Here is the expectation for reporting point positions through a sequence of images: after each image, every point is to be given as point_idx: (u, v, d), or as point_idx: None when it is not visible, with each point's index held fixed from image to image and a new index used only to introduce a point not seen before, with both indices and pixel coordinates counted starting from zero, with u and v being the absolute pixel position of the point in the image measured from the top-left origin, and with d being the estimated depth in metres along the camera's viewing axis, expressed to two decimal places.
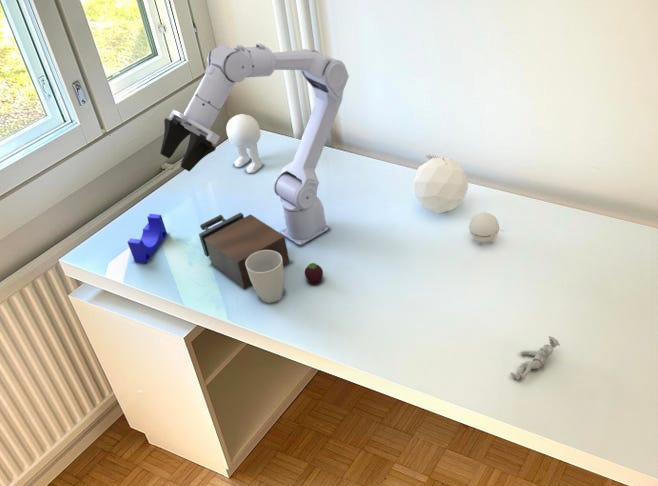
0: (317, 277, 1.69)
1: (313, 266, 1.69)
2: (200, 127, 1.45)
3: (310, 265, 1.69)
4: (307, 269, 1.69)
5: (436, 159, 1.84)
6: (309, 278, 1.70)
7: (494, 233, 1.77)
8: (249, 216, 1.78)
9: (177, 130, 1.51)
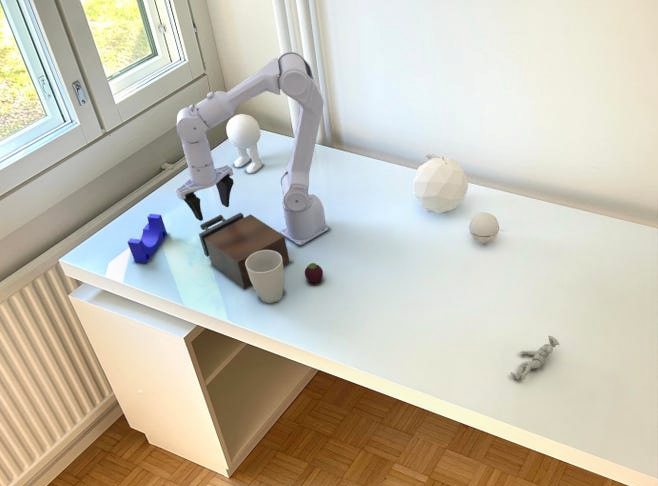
0: (317, 277, 1.69)
1: (313, 266, 1.69)
2: None
3: (310, 265, 1.69)
4: (307, 269, 1.69)
5: (436, 159, 1.84)
6: (309, 278, 1.70)
7: (494, 233, 1.77)
8: (249, 216, 1.78)
9: (219, 184, 1.75)
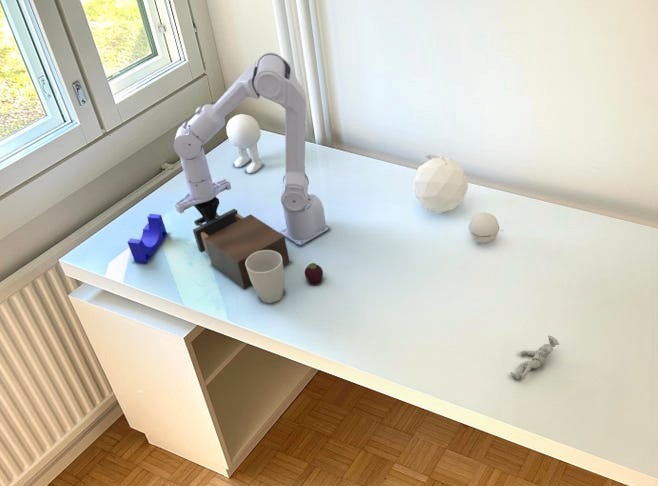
0: (317, 277, 1.69)
1: (313, 266, 1.69)
2: None
3: (310, 265, 1.69)
4: (307, 269, 1.69)
5: (436, 159, 1.84)
6: (309, 278, 1.70)
7: (494, 233, 1.77)
8: (249, 216, 1.78)
9: None
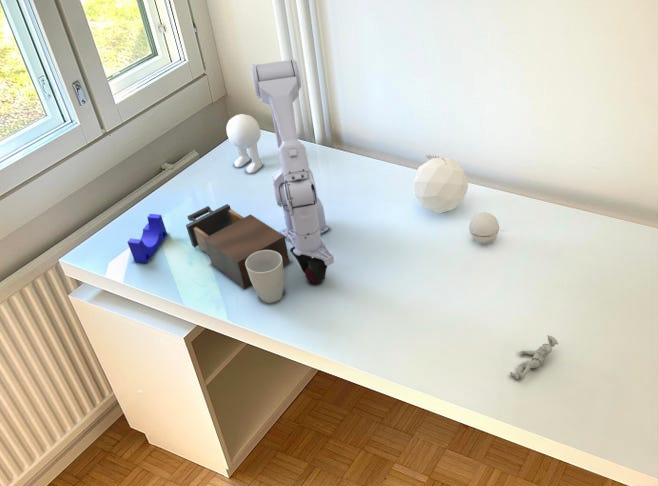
0: None
1: None
2: (315, 256, 1.62)
3: None
4: (307, 269, 1.69)
5: (436, 159, 1.84)
6: (309, 278, 1.70)
7: (494, 233, 1.77)
8: (249, 216, 1.78)
9: None
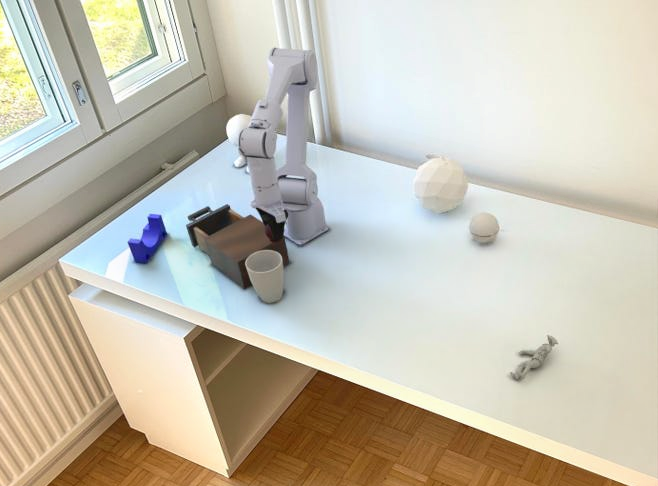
0: None
1: None
2: (268, 211, 1.59)
3: None
4: (267, 225, 1.67)
5: (436, 159, 1.84)
6: (267, 234, 1.67)
7: (494, 233, 1.77)
8: (249, 216, 1.78)
9: None
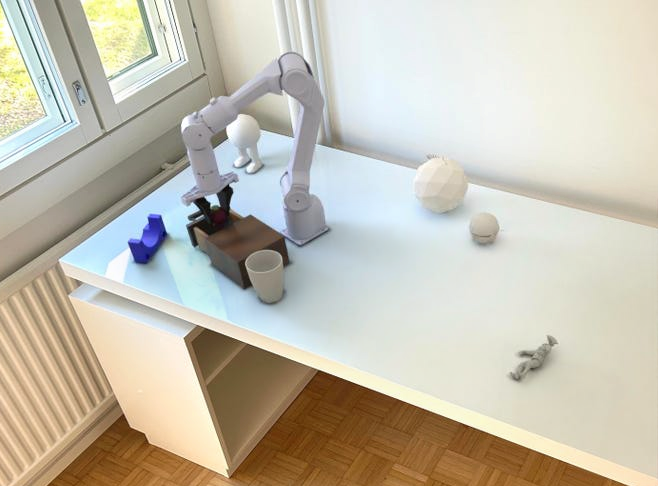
0: None
1: (213, 207, 1.75)
2: None
3: (215, 206, 1.75)
4: None
5: (436, 159, 1.84)
6: None
7: (494, 233, 1.77)
8: (249, 216, 1.78)
9: (219, 193, 1.74)
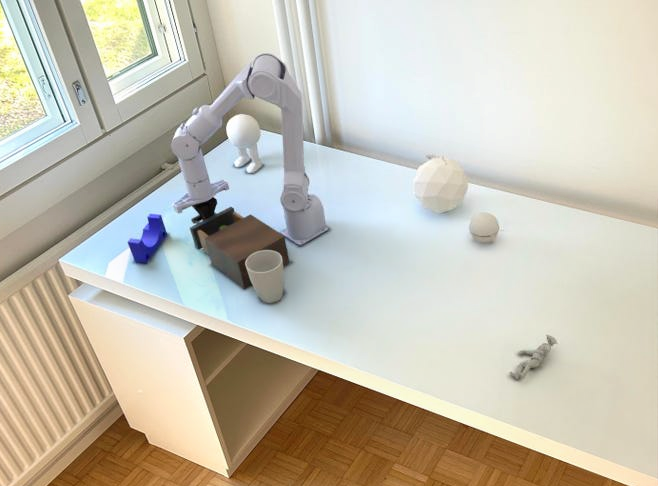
0: None
1: (222, 228, 1.78)
2: None
3: (224, 226, 1.78)
4: None
5: (436, 159, 1.84)
6: None
7: (494, 233, 1.77)
8: (249, 216, 1.78)
9: None
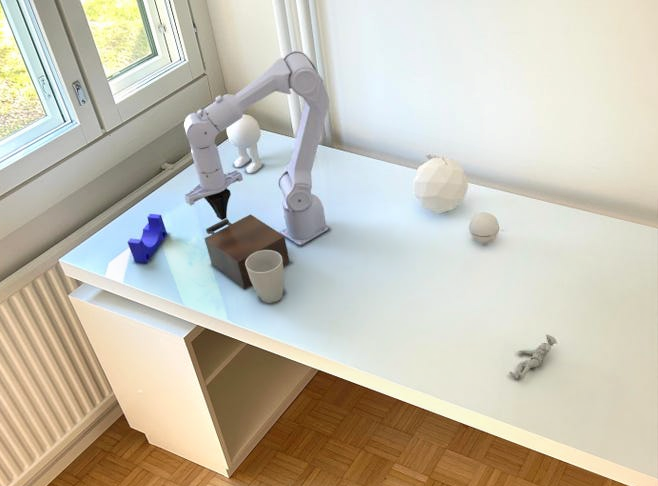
0: None
1: None
2: None
3: None
4: None
5: (436, 159, 1.84)
6: None
7: (494, 233, 1.77)
8: (249, 216, 1.78)
9: None
